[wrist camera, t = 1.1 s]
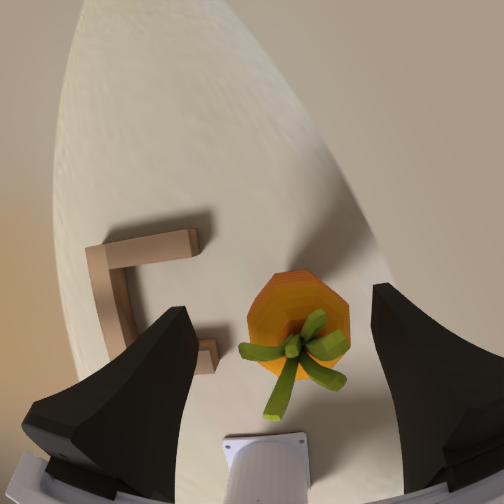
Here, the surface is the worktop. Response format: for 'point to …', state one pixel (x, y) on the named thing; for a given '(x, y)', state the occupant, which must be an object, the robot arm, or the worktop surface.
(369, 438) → the worktop surface
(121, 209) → the worktop surface
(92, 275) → the walnut bracket
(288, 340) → the carrot
